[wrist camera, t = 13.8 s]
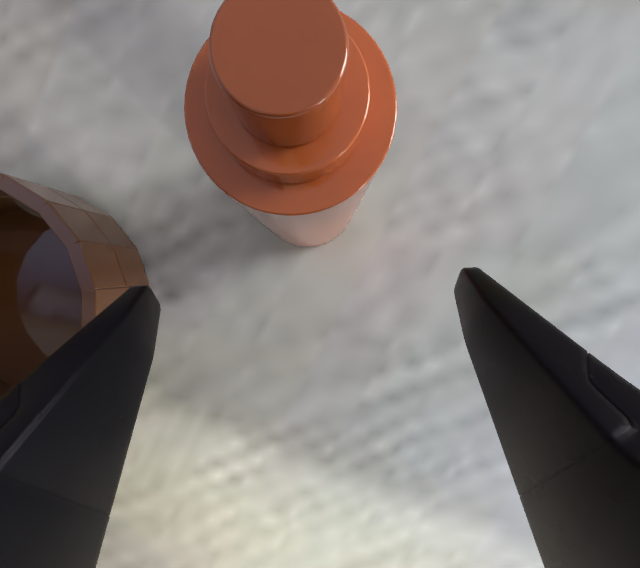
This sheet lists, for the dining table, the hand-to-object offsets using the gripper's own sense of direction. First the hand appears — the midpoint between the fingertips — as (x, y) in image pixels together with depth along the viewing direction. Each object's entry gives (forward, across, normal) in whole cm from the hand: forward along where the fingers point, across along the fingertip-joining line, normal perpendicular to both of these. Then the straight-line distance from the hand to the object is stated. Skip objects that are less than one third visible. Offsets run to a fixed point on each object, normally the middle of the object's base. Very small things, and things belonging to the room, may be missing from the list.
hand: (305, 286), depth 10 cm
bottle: (+8, 0, +2) cm, 8 cm away
